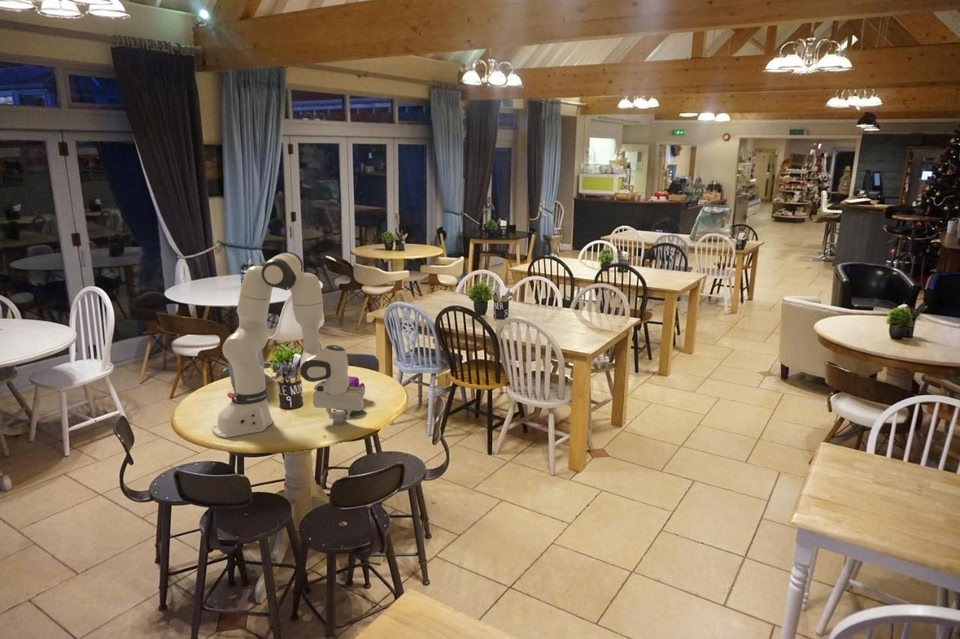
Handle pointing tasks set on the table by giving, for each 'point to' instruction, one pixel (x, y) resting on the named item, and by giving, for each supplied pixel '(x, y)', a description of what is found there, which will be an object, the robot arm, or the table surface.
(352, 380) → the toy camera
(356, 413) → the grey flanged ring
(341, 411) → the cap
